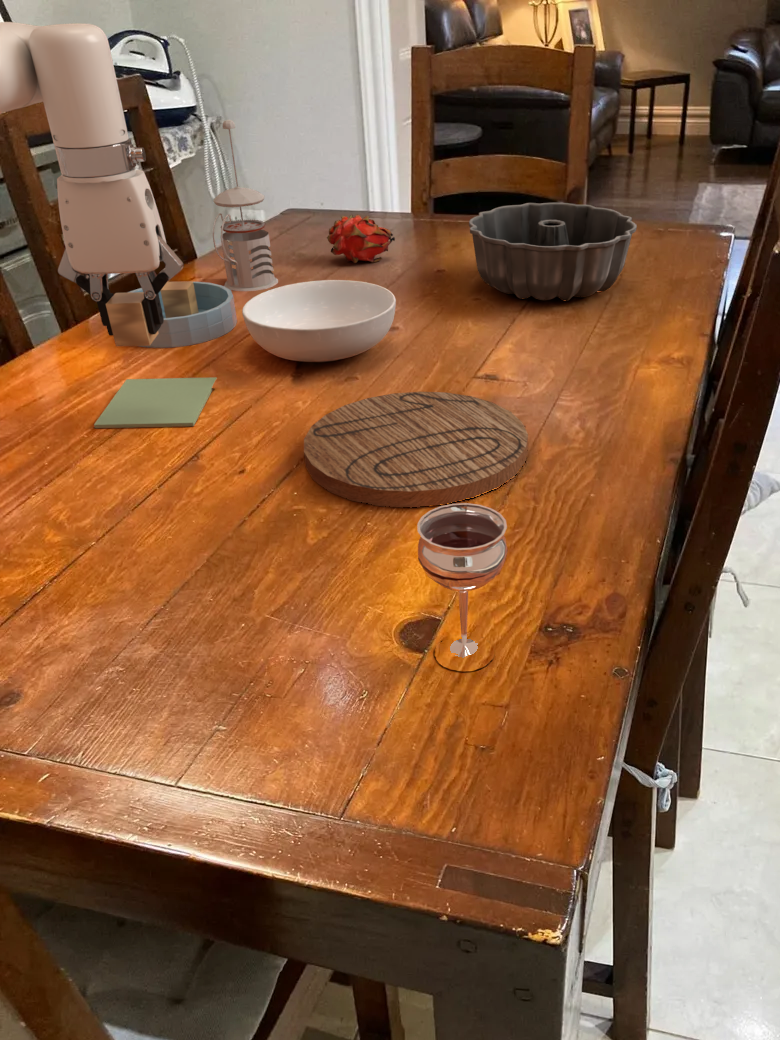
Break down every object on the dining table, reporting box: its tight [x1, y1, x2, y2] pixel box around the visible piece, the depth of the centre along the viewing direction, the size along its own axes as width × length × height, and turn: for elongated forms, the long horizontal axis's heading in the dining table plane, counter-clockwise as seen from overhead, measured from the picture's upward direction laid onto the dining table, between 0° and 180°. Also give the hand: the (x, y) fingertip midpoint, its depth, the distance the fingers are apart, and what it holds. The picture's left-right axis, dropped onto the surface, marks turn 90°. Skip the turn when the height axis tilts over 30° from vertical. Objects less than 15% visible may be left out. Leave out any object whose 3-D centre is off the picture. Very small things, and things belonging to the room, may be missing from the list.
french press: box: [212, 119, 279, 292], centre depth 149 cm, size 10×12×25 cm
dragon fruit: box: [326, 214, 396, 264], centre depth 165 cm, size 8×8×12 cm
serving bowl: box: [241, 279, 397, 363], centre depth 129 cm, size 21×21×7 cm
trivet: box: [303, 391, 529, 509], centre depth 105 cm, size 25×25×2 cm
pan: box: [126, 281, 238, 349], centre depth 138 cm, size 17×17×4 cm
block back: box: [161, 280, 199, 318], centre depth 141 cm, size 4×4×5 cm
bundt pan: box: [468, 202, 638, 302], centre depth 150 cm, size 26×26×10 cm
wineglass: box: [416, 502, 508, 658], centre depth 72 cm, size 7×7×12 cm
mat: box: [93, 376, 218, 429], centre depth 118 cm, size 12×14×1 cm
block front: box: [106, 291, 158, 348], centre depth 108 cm, size 4×4×5 cm
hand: (135, 329), depth 109 cm, fingers closed on block front, 4 cm apart
